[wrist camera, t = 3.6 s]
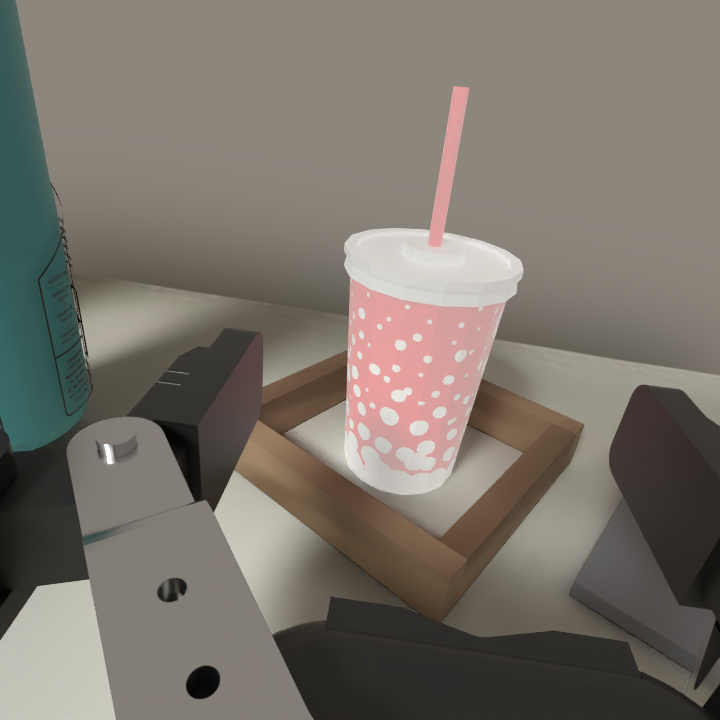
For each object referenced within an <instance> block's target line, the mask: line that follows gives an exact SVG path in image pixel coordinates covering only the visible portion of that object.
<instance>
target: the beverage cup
mask: <svg viewBox="0 0 720 720" xmlns="http://www.w3.org/2000/svg"><path fill="white" fill-rule="evenodd" d="M468 93H469V88H466V87H456V86H454V88H453V94H452V100H451V106H450V112H449V118H448V124H447V130H446V137H445V143H444V149H443V155H442V161H441V167H440V173H439V179H438V185H437V191H436V198H435V203H434V209H433V216H432V222H431V228H430V230H423V229H403V228H402V229H401V228H388V229H373V230H367V231H364V232H360V233H357V234H353V235H351V237H350V238H349V239H348V240H347V241H346V242H345V247H344V252H345V253H346V255H347V256H346V260H345V263H344V267H345V268H346V271H347V273H348V274H349V276H350V301H349V332H348V363H347V394H346V425H345V456H346V460H347V464H348V467H349V468H350V469H351V470H352V471H353V472H354V473H355V475H356V476H357V477H358V478H359V479H360V480H361V481H363V482H365V483H367V484H369V485H371V486H373V487H375V488H376V489H378V490H381V491H386V492H391V493H395V494H400V495H410V494H424V493H427V492H429V491H431V490H434V489H436V488H438V487H441V486H442V485H443V484H444V482H445V481H446V480H447V479H448V478H449V476H450V475H451V473H452V469H453V466H454V463H455V460H456V457H457V454H458V451H459V448H460V444H461V441H462V438H463V435H464V432H465V429H466V426H467V423H468V419H469V416H470V413H471V410H472V407H473V404H474V401H475V398H476V394H477V391H478V388H479V385H480V382H481V379H482V376H483V373H484V369H485V366H486V363H487V360H488V357H489V354H490V351H491V347H492V344H493V341H494V338H495V335H496V332H497V329H498V326H499V322H500V319H501V316H502V313H503V310H504V307H505V304H506V301H507V300H508V299H509V298H511V297H512V296H513V295H515V294H516V293H517V282H518V281H519V280H520V279H521V278H522V274H523V267H522V263H521V261H520V260H519V259H518V258H516V257H515V256H513V255H512V254H511V253H509V252H508V251H506V250H504V249H502V248H499V247H496V246H494V245H491V244H489V243H486V242H483V241H480V240H476V239H472V238H468V237H464V236H460V235H455V234H450V233H444V228H445V223H446V217H447V211H448V206H449V200H450V194H451V189H452V182H453V177H454V172H455V166H456V160H457V155H458V149H459V144H460V138H461V132H462V126H463V121H464V115H465V110H466V103H467V98H468Z"/></svg>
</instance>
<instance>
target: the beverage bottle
mask: <svg viewBox="0 0 720 720" xmlns="http://www.w3.org/2000/svg"><path fill="white" fill-rule="evenodd" d="M52 187H53V186H52V184H51V183H50V179H49V174H48V168H47V164H46V158H45V153H44V147H43V142H42V137H41V132H40V126H39V121H38V116H37V110H36V105H35V100H34V95H33V89H32V85H31V80H30V74H29V68H28V63H27V58H26V53H25V47H24V43H23V37H22V32H21V26H20V21H19V16H18V11H17V5H16V1H15V0H0V429H2V430H4V431H5V432H6V433H7V434H8V436H9V438H10V442H11V446H12V449H13V452H17V451H31V450H34V449H37V448H39V447H41V446H44V445H46V444H48V443H50V442H52V441H54V440H55V439H57V438H59V437H60V436H62V435H63V434H65V433H66V432H67V431H69V430H70V429H71V428H72V427H73V426H74V425H76V424H77V422H78V421H79V420H80V419H81V418H82V416H83V414H84V413H85V410H86V408H87V403H88V398H89V396H90V394H91V392H92V390H91V392H90V394H89V383H88V378H87V372H86V370H87V369H86V367H85V363H87V362H88V361H87V358H86V360H84V356H83V350H82V345H81V337H82V339H83V336H84V341H85V335H84V330H83V324H82V318H81V313H80V307H79V302H78V296H77V291H76V289H75V288H74V286H72V285H71V284H70V280H69V274H68V269H67V262H68V261H66V258H65V255H66V254H65V253H64V247H66V246H64V245H63V242H62V238H64V240H66V239H65V236H64V237H63V236H62V233H61V231H60V229H61V228H62V232H63V234H64V231H63V227H61V226H59V218H58V215H57V209H56V204H55V199H54V194H53V190H52ZM53 189H54V188H53ZM54 190H55V189H54ZM56 195H57V193H56ZM62 223H63V222H62ZM66 242H67V241H66ZM66 242H65V245H66ZM63 246H64V247H63ZM66 249H67V248H66ZM66 251H67V250H66ZM67 257H70V256H68V253H67ZM68 259H69V258H68ZM70 265H71V264H70V263H69V266H70ZM70 273H71V269H70ZM71 278H72V275H71ZM72 284H73V280H72ZM72 288H73V289H75V291H76V297H77V303H78V308H79V314H80V319H81V320H80V319H79V314H78V315H77V318H76V314H77V311H78V308H77V311H76V312H75V307H74V301H73V296H72V291H71V289H72ZM75 291H74V295H75ZM76 297H75V300H76ZM77 303H76V306H77ZM77 319H78V323H77ZM79 322H81V325H82V330H83V336H82V335H81V336H80V334H79V329H80V328H81V325H80V327H79V329H78V325H79ZM82 330H81V333H82ZM84 341H83V344H84ZM85 347H86V352H85V355H86V354H87V356H88V352H87V346H86V341H85ZM85 347H84V350H85ZM88 358H89V357H88ZM85 361H87V362H85ZM88 365H89V363H87V366H88ZM87 371H88V373H89V369H88V370H87ZM90 375H91V374H90V373H89V377H90ZM91 377H92V376H91ZM92 381H93V380H92ZM90 383H91V380H90ZM91 388H92V389H93V385H91Z"/></svg>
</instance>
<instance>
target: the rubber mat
mask: <svg viewBox="0 0 720 720" xmlns="http://www.w3.org/2000/svg"><path fill="white" fill-rule="evenodd" d="M569 595H571V596H573V597H574V598H576V599H577V600H579V601H580V602H582V603H584V604H585V605H587V606H588V607H590V608H592V609H593V610H595V611H596V612H598V613H599V614H601V615H603V616H604V617H606V618H607V619H609V620H611V621H612V622H614V623H615V624H617V625H618V626H620V627H622V628H623V629H625V630H626V631H628V632H630V633H631V634H633V635H634V636H636V637H637V638H639V639H641V640H642V641H644V642H645V643H647V644H649V645H650V646H652V647H653V648H655V649H656V650H658V651H660V652H661V653H663V654H664V655H666V656H668V657H669V658H671V659H672V660H674V661H675V662H677V663H679V664H680V665H682V666H683V667H685V668H687V669H688V670H690V671H691V672H692V670H693V667H694V664H695V661H696V658H697V655H698V652H699V650H700V647H701V644H702V641H703V638H704V635H705V632H706V630H707V628H708V626H709V625H710V623H711V622H712V620H713V619H714V617H715V615H714V613H713V612H712V610H708V609H701V608H694V607H688V606H681V605H679V604H678V602H677V600H676V598H675V596H674V594H673V593H672V591H671V589H670V587H669V585H668V583H667V581H666V579H665V577H664V575H663V573H662V571H661V569H660V567H659V565H658V563H657V561H656V559H655V557H654V555H653V553H652V551H651V549H650V547H649V545H648V543H647V541H646V540H645V538H644V536H643V534H642V532H641V530H640V528H639V526H638V524H637V522H636V520H635V518H634V516H633V514H632V512H631V510H630V508H629V506H628V504H627V502H626V500H625V498H624V497H623V499H622V501H621V503H620V504H619V506H618V508H617V510H616V511H615V513H614V515H613V516H612V518H611V520H610V522H609V523H608V525H607V527H606V528H605V530H604V532H603V534H602V535H601V537H600V539H599V541H598V542H597V544H596V546H595V547H594V549H593V551H592V553H591V554H590V556H589V558H588V559H587V561H586V563H585V565H584V566H583V568H582V570H581V572H580V573H579V575H578V577H577V578H576V580H575V582H574V584H573V586H572V589H571V591H570V593H569Z"/></svg>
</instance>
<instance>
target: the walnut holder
mask: <svg viewBox="0 0 720 720" xmlns="http://www.w3.org/2000/svg"><path fill="white" fill-rule="evenodd" d="M347 363H348V350H347V351H344V352H342V353H340V354H338V355H335V356H333V357H331V358H328V359H326V360H324V361H322V362H319V363H317V364H315V365H312V366H310V367H308V368H306V369H303V370H301V371H299V372H297V373H294V374H292V375H290V376H287V377H285V378H283V379H281V380H278V381H276V382H274V383H271V384H269V385H267V386H265V387H262V403H261V409H260V413H259V417H258V420H257V423H256V425H255V427H254V429H253V431H252V433H251V435H250V437H249V439H248V442H247V444H246V446H245V448H244V450H243V452H242V454H241V456H240V458H239V460H238V463H237V465H236V467H235V469H234V470H236V471H237V472H238V473H239V474H241V475H242V476H243V477H245V478H246V479H247V480H248V481H250V482H251V483H252V484H254V485H255V486H256V487H258V488H259V489H260V490H261V491H263V492H264V493H265V494H267V495H268V496H269V497H270V498H272V499H273V500H274V501H276V502H277V503H278V504H279V505H281V506H282V507H283V508H285V509H286V510H287V511H289V512H290V513H291V514H292V515H294V516H295V517H296V518H298V519H299V520H300V521H301V522H303V523H304V524H305V525H307V526H308V527H309V528H310V529H312V530H313V531H314V532H316V533H317V534H318V535H319V536H321V537H322V538H323V539H325V540H326V541H327V542H329V543H330V544H331V545H332V546H334V547H335V548H336V549H338V550H339V551H340V552H341V553H343V554H344V555H345V556H347V557H348V558H349V559H350V560H352V561H353V562H354V563H356V564H357V565H358V566H360V567H361V568H362V569H363V570H365V571H366V572H367V573H369V574H370V575H371V576H372V577H374V578H375V579H376V580H378V581H379V582H380V583H381V584H383V585H384V586H385V587H387V588H388V589H389V590H391V591H392V592H393V593H394V594H396V595H397V596H398V597H400V598H401V599H402V600H403V601H405V602H406V603H407V604H409V605H410V606H411V607H412V608H414V609H415V610H416V611H418V612H419V613H420V614H422V615H423V616H425V617H427V618H430V619H432V620H435V621H438V622H440V623H441V621H442V620H443V619H444V618H445V616H446V615H447V614H448V613H449V611H450V610H451V609H452V608H453V606H454V605H455V604H456V603H457V602H458V600H459V599H460V598H461V597H462V595H463V594H464V593H465V592H466V590H467V589H468V588H469V587H470V585H471V584H472V583H473V582H474V580H475V579H476V578H477V577H478V576H479V574H480V573H481V572H482V571H483V569H484V568H485V567H486V566H487V564H488V563H489V562H490V561H491V559H492V558H493V557H494V556H495V555H496V553H497V552H498V551H499V550H500V548H501V547H502V546H503V545H504V543H505V542H506V541H507V540H508V538H509V537H510V536H511V535H512V533H513V532H514V531H515V530H516V529H517V527H518V526H519V525H520V524H521V522H522V521H523V520H524V519H525V517H526V516H527V515H528V514H529V512H530V511H531V510H532V509H533V507H534V506H535V505H536V504H537V503H538V501H539V500H540V499H541V498H542V496H543V495H544V494H545V493H546V491H547V490H548V489H549V488H550V486H551V485H552V484H553V483H554V482H555V480H556V479H557V478H558V477H559V475H560V474H561V473H562V472H563V470H564V469H565V468H566V467H567V465H568V464H569V463H570V462H571V459H572V457H573V454H574V451H575V449H576V446H577V443H578V441H579V438H580V435H581V432H582V430H583V427H584V424H582V423H580V422H578V421H575V420H573V419H571V418H569V417H566V416H564V415H562V414H560V413H557V412H555V411H553V410H551V409H548V408H546V407H544V406H541V405H539V404H537V403H535V402H532V401H530V400H528V399H526V398H523V397H521V396H519V395H517V394H514V393H512V392H510V391H508V390H505V389H503V388H501V387H499V386H496V385H494V384H492V383H490V382H487V381H485V380H483V379H481V382H480V385H479V388H478V391H477V394H476V398H475V401H474V404H473V407H472V410H471V413H470V416H469V419H468V423H467V424H469V425H471V426H473V427H475V428H477V429H479V430H481V431H483V432H485V433H487V434H489V435H491V436H493V437H495V438H497V439H499V440H501V441H503V442H505V443H507V444H509V445H511V446H512V447H514V448H516V449H518V450H520V451H522V452H524V454H523V455H522V456H521V457H520V458H519V459H518V460H517V461H516V462H515V463H514V464H513V465H512V466H511V467H510V468H509V469H508V470H507V471H506V472H505V473H504V474H503V475H502V476H501V477H500V478H499V479H498V480H497V481H496V482H495V483H494V484H493V485H492V486H491V487H490V488H489V489H488V490H487V491H486V492H485V493H484V494H483V495H482V496H481V498H480V499H479V500H478V501H477V502H476V503H475V504H474V505H473V506H472V507H471V508H470V509H469V510H468V511H467V512H466V513H465V514H464V515H463V516H462V517H461V518H460V519H459V520H458V521H457V522H456V523H455V524H454V525H453V526H452V527H451V528H450V529H449V530H448V531H447V532H446V533H445V534H444V535H443V536H442V537H441V538H440V539H439V540H437V539H436V538H434V537H433V536H431V535H430V534H428V533H427V532H425V531H424V530H422V529H421V528H419V527H418V526H416V525H415V524H413V523H412V522H410V521H409V520H407V519H406V518H404V517H403V516H401V515H400V514H398V513H397V512H395V511H394V510H392V509H391V508H389V507H388V506H386V505H385V504H383V503H382V502H380V501H379V500H377V499H376V498H374V497H373V496H371V495H370V494H368V493H367V492H365V491H364V490H362V489H361V488H359V487H358V486H356V485H355V484H353V483H352V482H350V481H349V480H347V479H346V478H344V477H343V476H341V475H340V474H338V473H337V472H335V471H334V470H332V469H331V468H329V467H328V466H326V465H325V464H323V463H322V462H320V461H319V460H317V459H316V458H314V457H313V456H311V455H310V454H308V453H307V452H305V451H304V450H302V449H301V448H299V447H298V446H296V445H295V444H293V443H292V442H290V441H289V440H287V439H286V438H284V437H283V436H281V435H280V434H282V433H284V432H285V431H287V430H289V429H291V428H293V427H295V426H297V425H298V424H300V423H302V422H304V421H306V420H308V419H310V418H311V417H313V416H315V415H317V414H319V413H321V412H323V411H324V410H326V409H328V408H330V407H332V406H334V405H336V404H338V403H339V402H341V401H343V400H345V399H346V394H347Z"/></svg>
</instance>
